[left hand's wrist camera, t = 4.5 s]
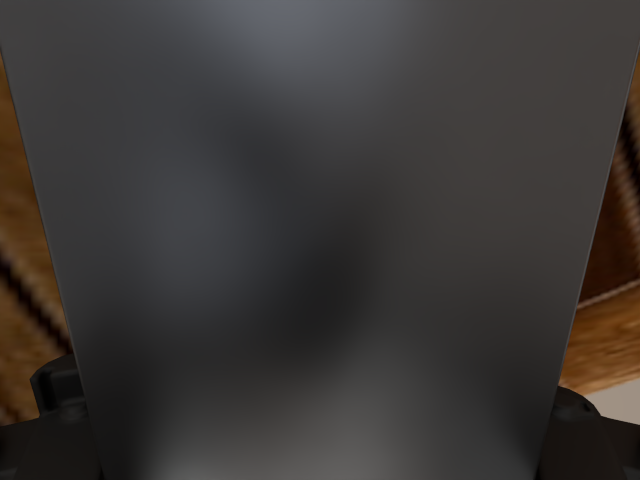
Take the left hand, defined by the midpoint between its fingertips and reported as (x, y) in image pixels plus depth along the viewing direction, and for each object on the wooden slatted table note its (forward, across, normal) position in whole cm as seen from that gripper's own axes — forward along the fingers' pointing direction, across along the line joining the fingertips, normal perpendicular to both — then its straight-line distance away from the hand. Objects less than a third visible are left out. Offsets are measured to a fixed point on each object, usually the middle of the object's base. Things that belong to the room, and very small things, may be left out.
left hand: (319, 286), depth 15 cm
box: (0, 0, -9) cm, 9 cm away
